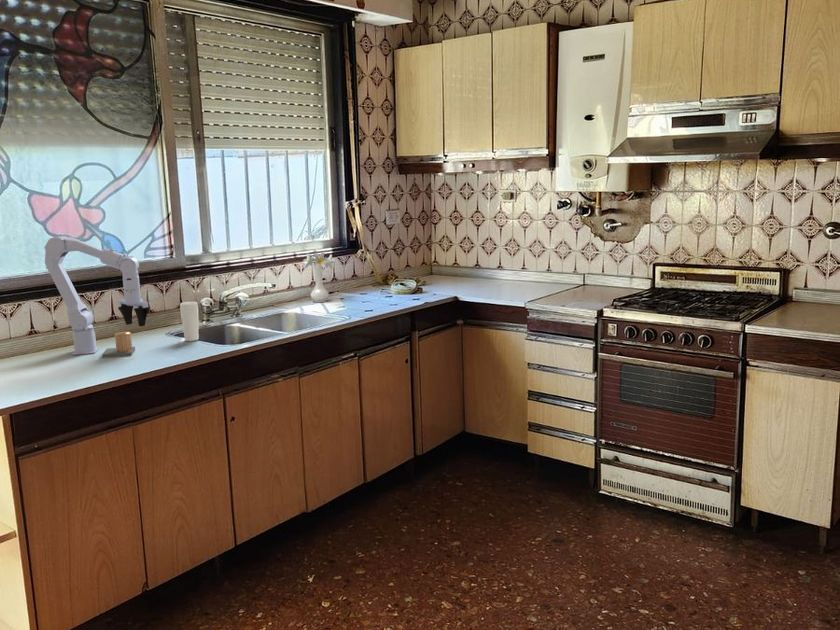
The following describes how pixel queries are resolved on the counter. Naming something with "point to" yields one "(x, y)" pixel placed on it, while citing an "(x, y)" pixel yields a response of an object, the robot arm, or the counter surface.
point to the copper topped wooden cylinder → (123, 341)
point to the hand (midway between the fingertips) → (135, 325)
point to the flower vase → (319, 275)
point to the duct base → (113, 353)
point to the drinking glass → (190, 320)
